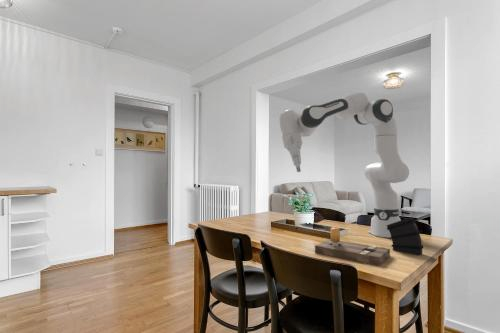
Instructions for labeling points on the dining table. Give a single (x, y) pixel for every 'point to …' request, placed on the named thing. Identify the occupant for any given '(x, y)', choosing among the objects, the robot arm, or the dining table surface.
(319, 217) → the pine cone
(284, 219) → the dining table surface
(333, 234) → the wooden block
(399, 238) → the magazine
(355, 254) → the board
